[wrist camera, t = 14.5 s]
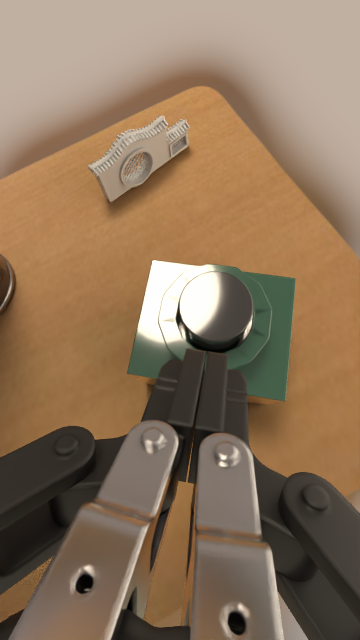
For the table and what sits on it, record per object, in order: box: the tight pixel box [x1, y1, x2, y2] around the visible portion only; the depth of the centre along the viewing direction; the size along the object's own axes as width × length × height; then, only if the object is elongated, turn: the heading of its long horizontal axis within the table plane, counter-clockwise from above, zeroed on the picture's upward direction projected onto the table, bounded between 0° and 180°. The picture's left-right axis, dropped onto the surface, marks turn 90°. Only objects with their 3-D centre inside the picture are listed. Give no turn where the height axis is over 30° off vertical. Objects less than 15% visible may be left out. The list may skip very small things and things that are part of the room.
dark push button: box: [179, 271, 253, 350], centre depth 20 cm, size 4×4×2 cm
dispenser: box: [127, 260, 296, 404], centre depth 25 cm, size 11×9×10 cm
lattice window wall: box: [88, 115, 190, 202], centre depth 34 cm, size 12×2×6 cm, turn 130°
